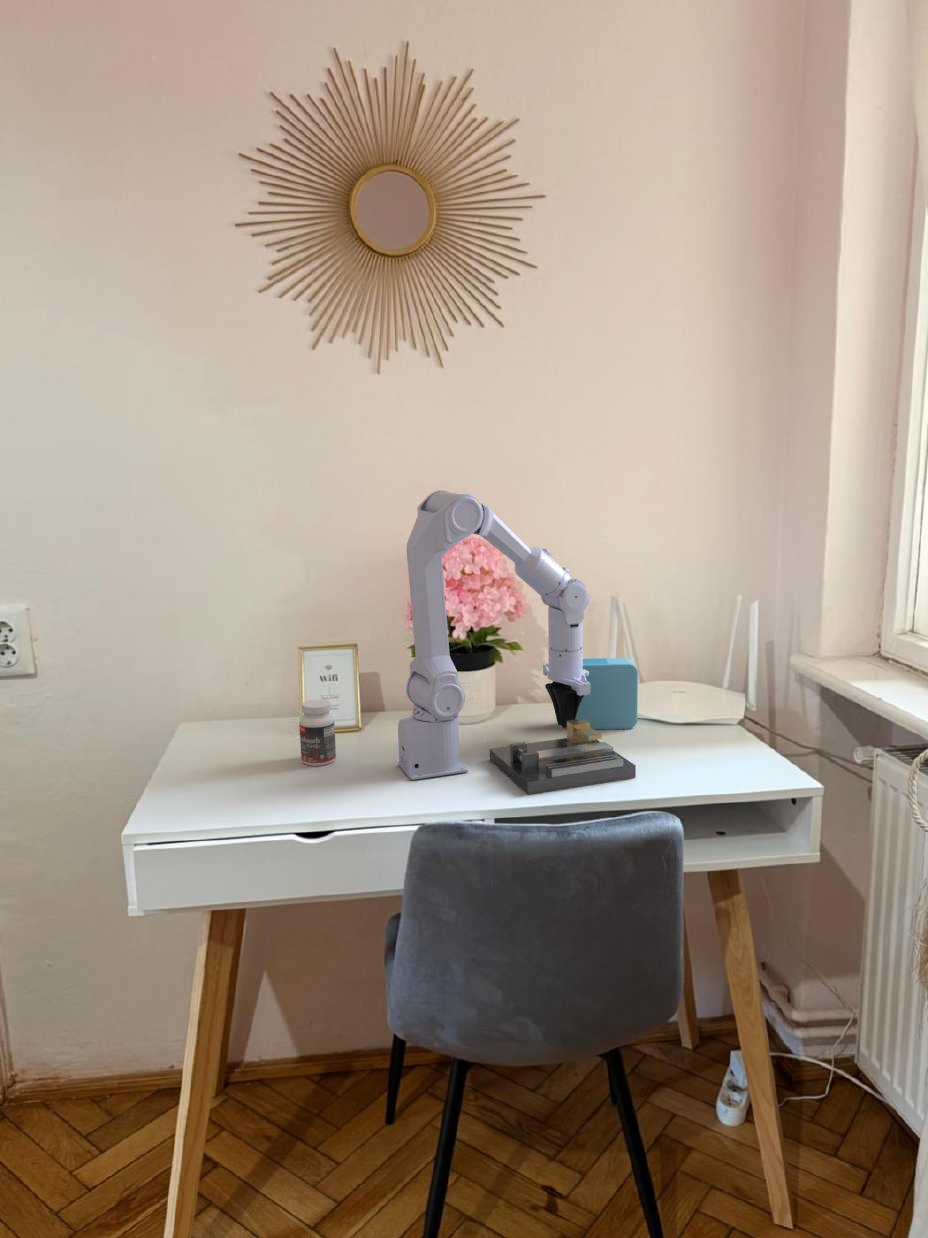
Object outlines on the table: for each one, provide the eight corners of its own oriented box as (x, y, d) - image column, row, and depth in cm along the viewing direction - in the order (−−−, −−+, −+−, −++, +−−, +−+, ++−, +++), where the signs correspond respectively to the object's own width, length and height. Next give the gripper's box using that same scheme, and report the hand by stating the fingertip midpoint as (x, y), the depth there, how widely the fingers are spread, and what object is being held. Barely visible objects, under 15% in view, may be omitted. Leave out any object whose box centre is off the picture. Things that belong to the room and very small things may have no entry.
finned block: (527, 794, 149) (527, 763, 148) (489, 760, 164) (489, 731, 163) (635, 777, 155) (635, 746, 154) (589, 746, 169) (589, 717, 168)
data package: (633, 721, 182) (634, 657, 180) (637, 729, 178) (638, 663, 175) (567, 722, 182) (567, 658, 180) (569, 730, 178) (569, 665, 175)
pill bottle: (294, 764, 164) (290, 705, 162) (315, 753, 169) (311, 696, 167) (323, 769, 162) (319, 710, 160) (343, 758, 167) (340, 700, 165)
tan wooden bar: (524, 766, 153) (524, 757, 153) (516, 760, 156) (516, 751, 155) (613, 753, 158) (613, 745, 157) (604, 747, 161) (604, 739, 160)
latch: (586, 753, 160) (586, 734, 159) (566, 739, 167) (566, 721, 166) (603, 750, 161) (603, 731, 160) (583, 737, 168) (583, 718, 167)
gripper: (607, 654, 162) (606, 734, 165) (568, 636, 176) (568, 710, 178) (567, 659, 160) (567, 740, 163) (531, 640, 173) (532, 715, 176)
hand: (565, 725), depth 170 cm, fingers closed
